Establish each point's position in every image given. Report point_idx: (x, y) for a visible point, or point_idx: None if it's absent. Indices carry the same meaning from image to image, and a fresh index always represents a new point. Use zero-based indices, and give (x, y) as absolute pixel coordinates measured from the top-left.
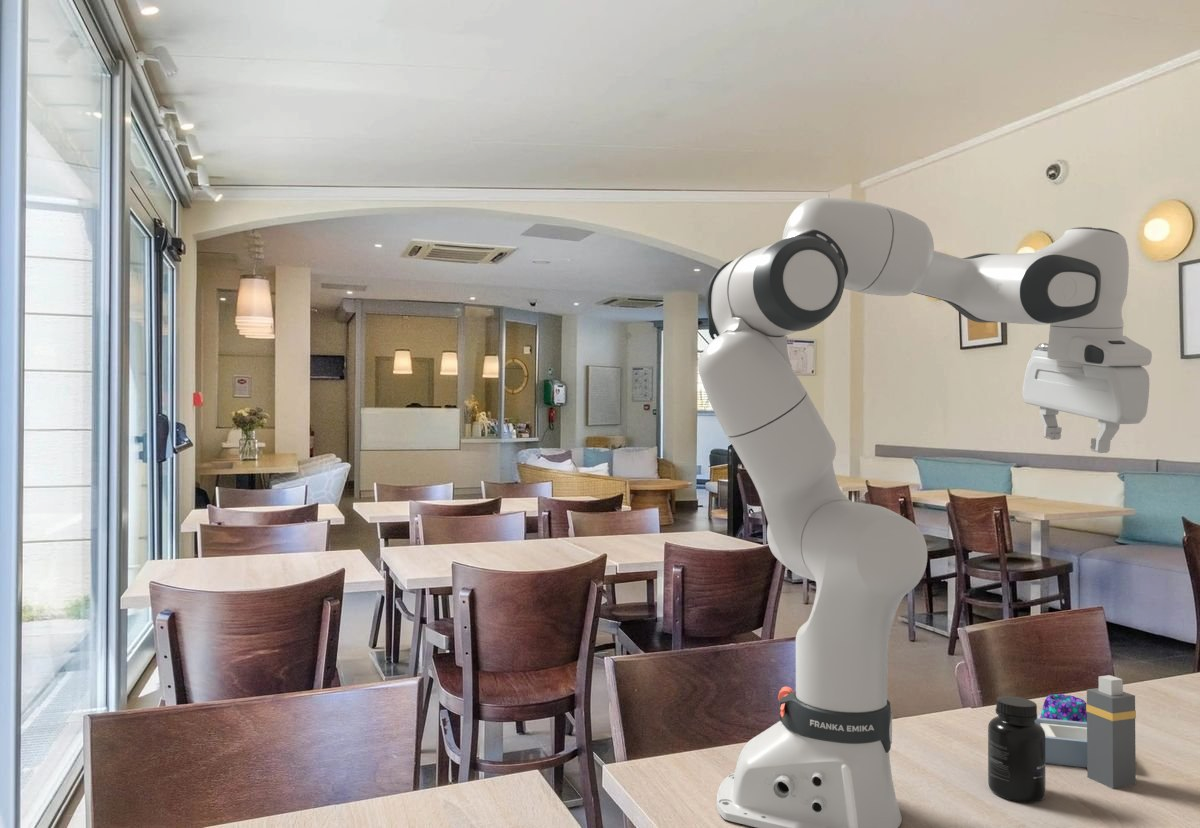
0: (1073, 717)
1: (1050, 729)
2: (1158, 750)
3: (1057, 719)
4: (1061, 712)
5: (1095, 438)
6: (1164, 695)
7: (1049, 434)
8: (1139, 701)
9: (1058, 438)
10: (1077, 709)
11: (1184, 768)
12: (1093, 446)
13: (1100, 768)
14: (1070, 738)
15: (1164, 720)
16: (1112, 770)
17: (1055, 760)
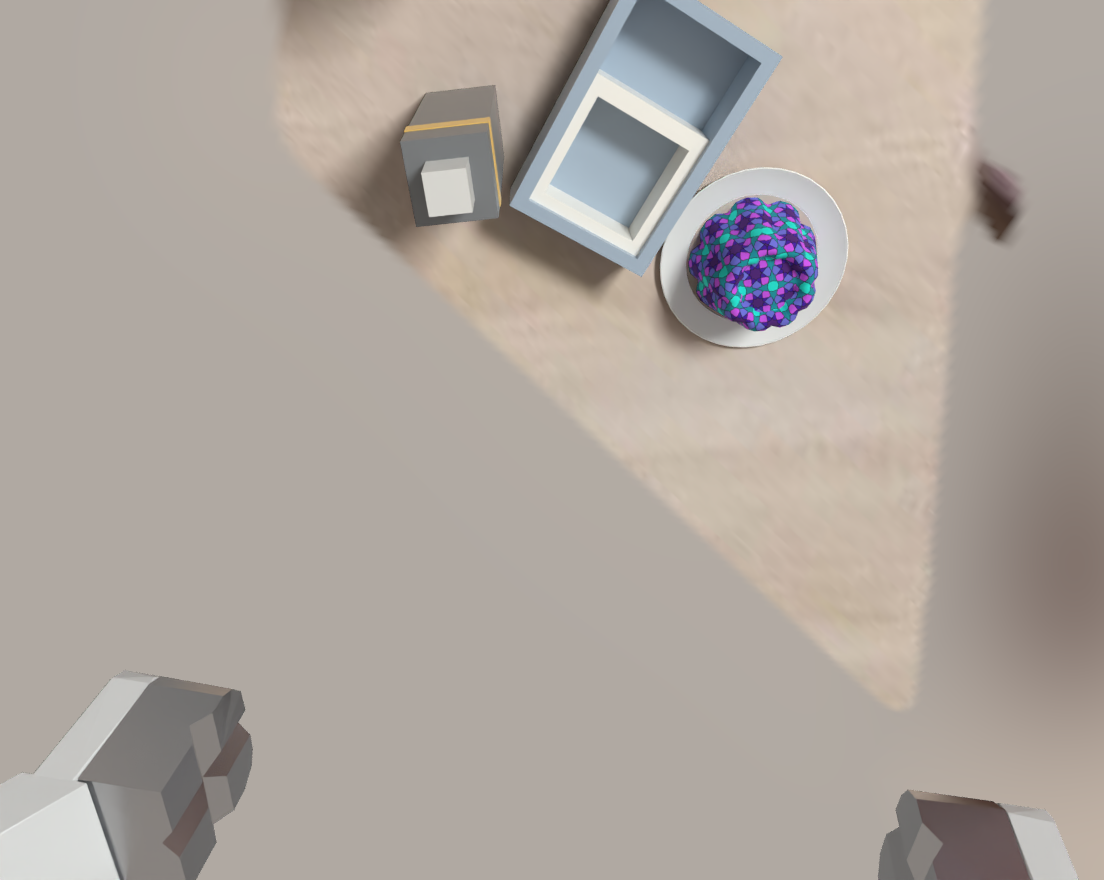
0: (719, 260)
1: (661, 132)
2: (593, 362)
3: (741, 228)
4: (739, 242)
5: (151, 819)
6: (843, 609)
7: (940, 833)
8: (836, 541)
9: (884, 861)
10: (719, 277)
11: (500, 336)
12: (159, 708)
13: (456, 95)
14: (656, 188)
15: (728, 502)
16: (423, 101)
17: (576, 65)
